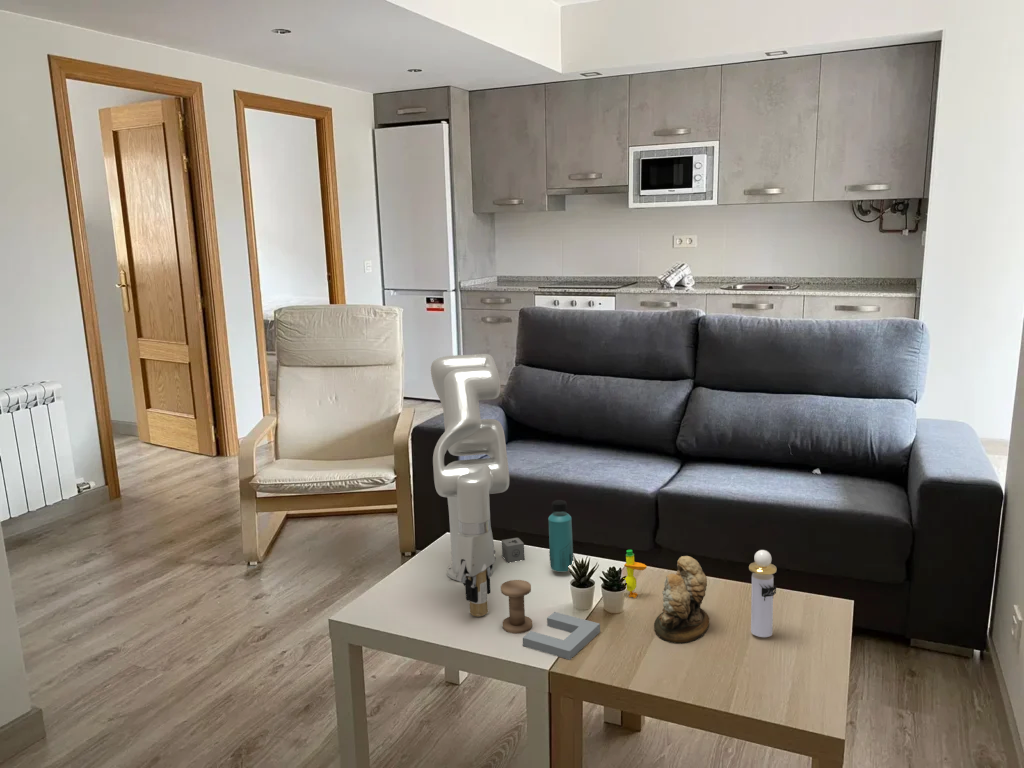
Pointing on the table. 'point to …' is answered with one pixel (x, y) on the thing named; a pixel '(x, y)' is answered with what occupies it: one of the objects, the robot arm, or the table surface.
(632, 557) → the toy figure
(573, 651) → the notched board
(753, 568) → the perfume bottle
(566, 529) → the beverage bottle
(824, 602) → the table surface
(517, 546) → the dice cube
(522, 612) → the spool
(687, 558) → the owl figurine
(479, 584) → the sprinkles bottle
